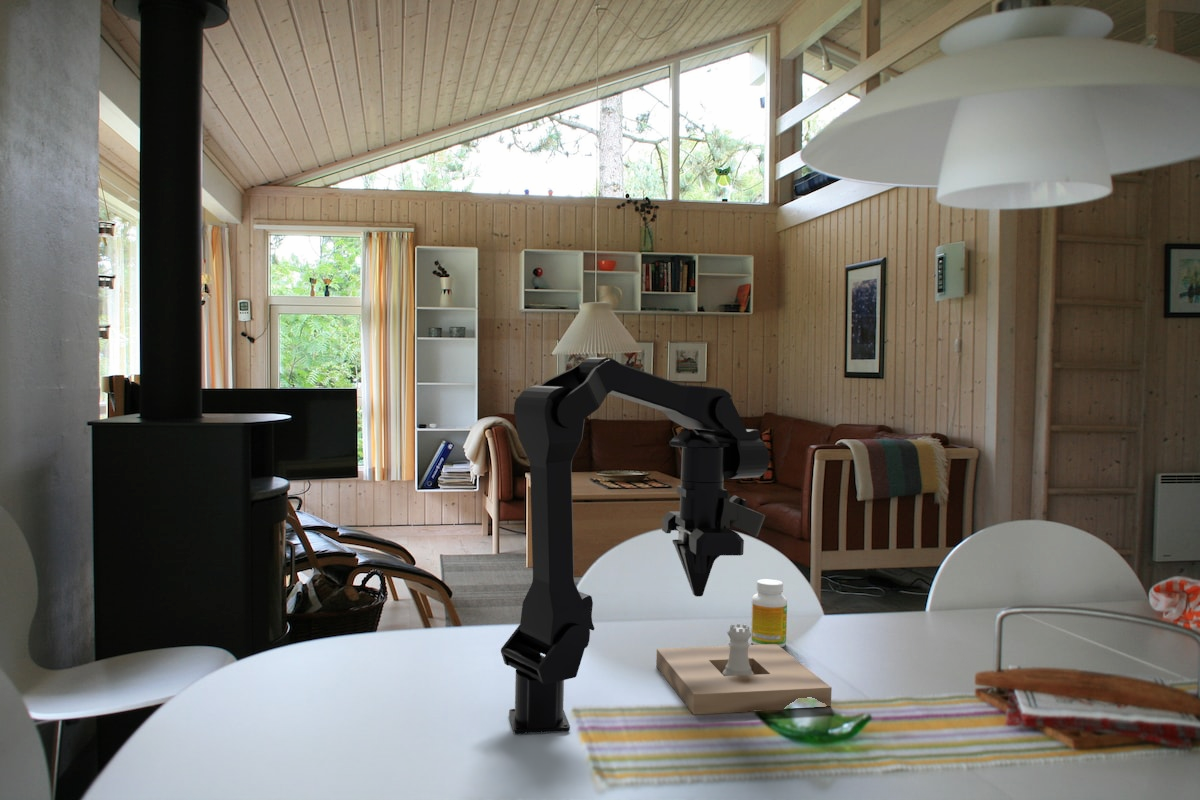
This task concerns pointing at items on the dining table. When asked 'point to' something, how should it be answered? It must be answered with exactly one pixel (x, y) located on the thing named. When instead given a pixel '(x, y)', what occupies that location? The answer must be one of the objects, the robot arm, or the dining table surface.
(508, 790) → the dining table surface
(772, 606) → the supplement bottle
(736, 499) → the robot arm
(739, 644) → the rook chess piece
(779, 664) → the socket block
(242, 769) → the dining table surface
